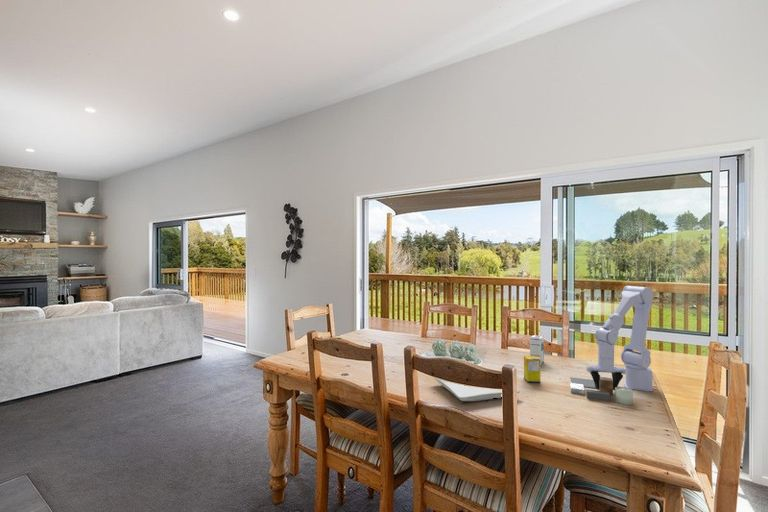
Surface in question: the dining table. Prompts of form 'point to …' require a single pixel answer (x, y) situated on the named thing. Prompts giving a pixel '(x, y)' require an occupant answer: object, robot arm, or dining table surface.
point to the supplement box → (532, 369)
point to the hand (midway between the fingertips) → (605, 389)
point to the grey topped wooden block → (577, 388)
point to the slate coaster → (583, 382)
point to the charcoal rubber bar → (598, 395)
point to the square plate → (470, 392)
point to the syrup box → (537, 347)
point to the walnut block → (606, 385)
